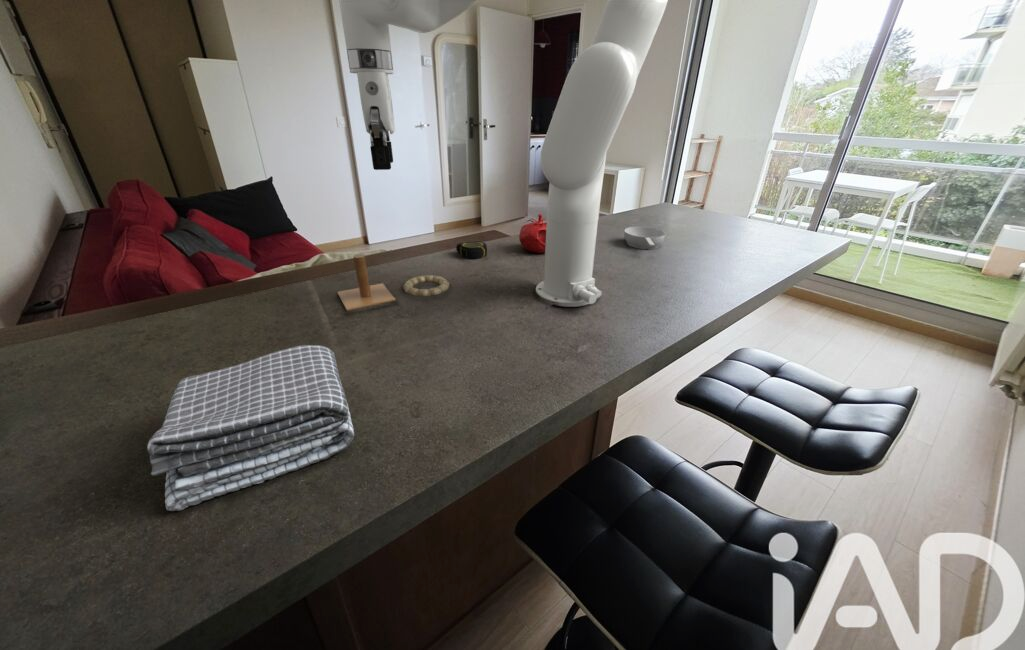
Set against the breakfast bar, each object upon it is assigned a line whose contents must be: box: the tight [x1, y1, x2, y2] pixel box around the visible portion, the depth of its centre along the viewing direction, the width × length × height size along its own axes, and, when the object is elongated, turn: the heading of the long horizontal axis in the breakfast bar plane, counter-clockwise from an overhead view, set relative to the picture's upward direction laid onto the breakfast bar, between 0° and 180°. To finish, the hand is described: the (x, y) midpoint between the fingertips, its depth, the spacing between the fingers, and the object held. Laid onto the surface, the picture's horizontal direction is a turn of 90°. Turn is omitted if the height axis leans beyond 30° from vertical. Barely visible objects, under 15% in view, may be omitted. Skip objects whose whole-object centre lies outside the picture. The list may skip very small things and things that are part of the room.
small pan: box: [623, 226, 666, 250], centre depth 111 cm, size 11×18×4 cm, turn 172°
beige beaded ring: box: [402, 274, 450, 297], centre depth 85 cm, size 9×9×2 cm
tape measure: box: [455, 240, 488, 260], centre depth 103 cm, size 7×7×4 cm
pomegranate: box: [518, 213, 547, 254], centre depth 108 cm, size 10×10×9 cm
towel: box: [146, 344, 355, 512], centre depth 46 cm, size 15×18×8 cm
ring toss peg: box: [337, 253, 396, 312], centre depth 79 cm, size 9×9×9 cm
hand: (384, 165), depth 82 cm, fingers open, 9 cm apart
